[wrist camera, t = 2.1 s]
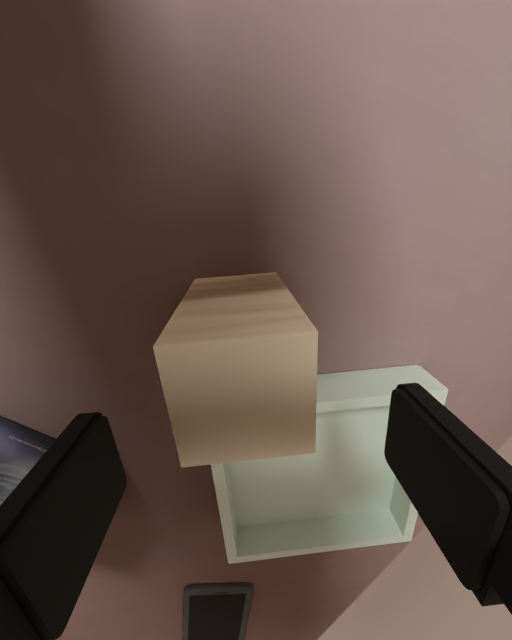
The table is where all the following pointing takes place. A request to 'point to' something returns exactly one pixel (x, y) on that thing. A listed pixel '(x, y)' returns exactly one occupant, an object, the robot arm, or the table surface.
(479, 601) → the robot arm
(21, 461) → the small box
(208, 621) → the cell phone
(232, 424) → the block
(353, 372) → the tray
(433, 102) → the table surface
